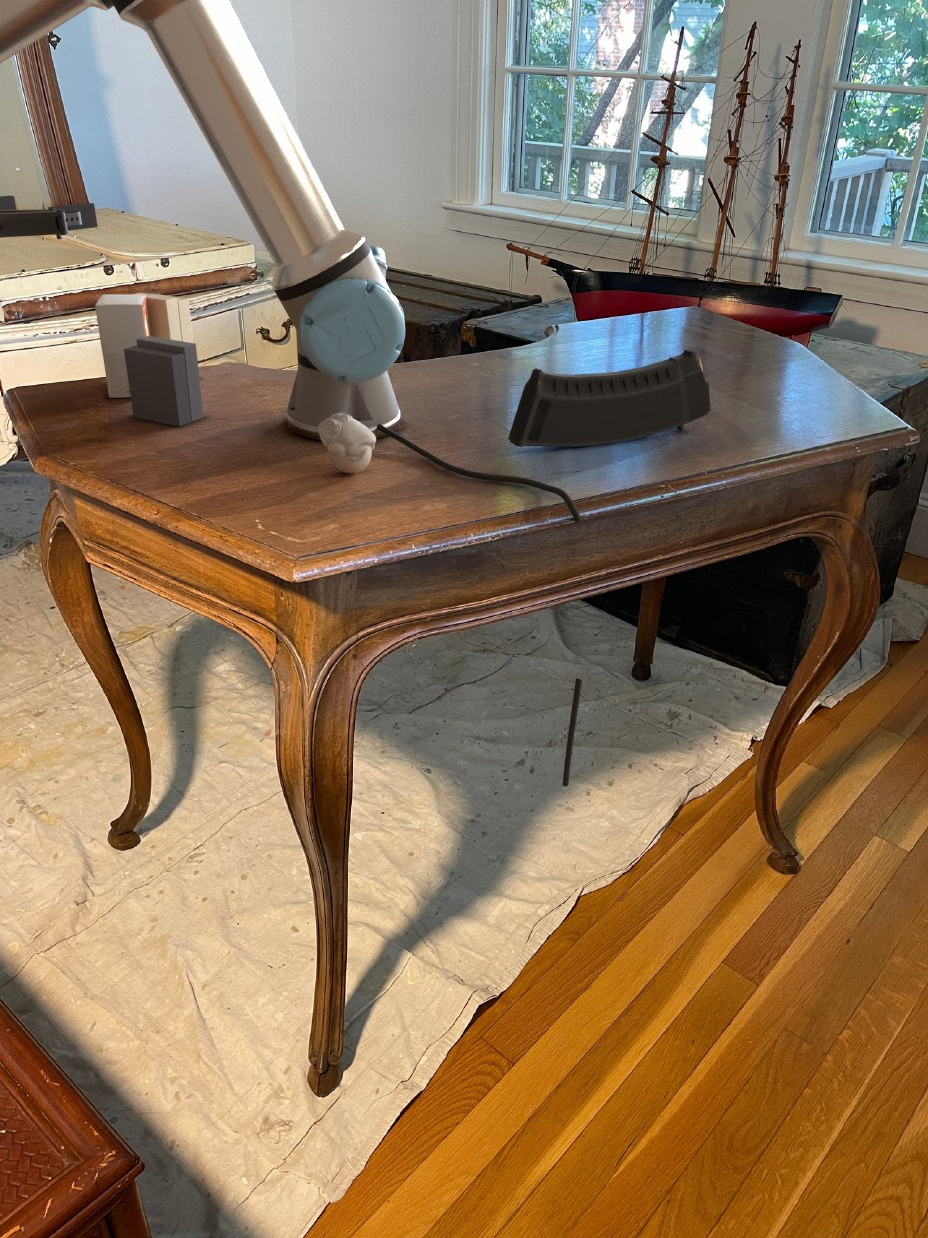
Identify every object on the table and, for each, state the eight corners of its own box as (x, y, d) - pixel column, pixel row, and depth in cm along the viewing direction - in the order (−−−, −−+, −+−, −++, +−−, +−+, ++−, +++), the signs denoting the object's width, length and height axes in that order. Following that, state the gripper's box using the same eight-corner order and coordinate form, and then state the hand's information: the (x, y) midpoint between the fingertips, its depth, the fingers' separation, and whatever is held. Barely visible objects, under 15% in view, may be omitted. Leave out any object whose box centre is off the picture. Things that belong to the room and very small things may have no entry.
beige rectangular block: (197, 378, 143) (188, 294, 137) (176, 385, 139) (165, 300, 133) (162, 372, 145) (151, 289, 139) (140, 379, 141) (128, 294, 135)
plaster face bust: (331, 459, 113) (329, 404, 110) (384, 467, 112) (384, 410, 108) (311, 476, 108) (308, 418, 105) (367, 484, 107) (366, 425, 103)
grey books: (203, 417, 126) (195, 343, 121) (179, 426, 122) (170, 350, 117) (158, 408, 129) (148, 335, 124) (133, 417, 125) (122, 342, 120)
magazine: (506, 388, 111) (704, 301, 118) (493, 381, 114) (688, 296, 121) (532, 508, 121) (713, 421, 129) (520, 499, 124) (698, 414, 131)
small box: (154, 397, 133) (142, 304, 127) (108, 398, 132) (93, 304, 126) (157, 382, 140) (146, 293, 134) (114, 383, 139) (100, 293, 132)
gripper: (-165, 253, 106) (-11, 234, 123) (-11, 274, 97) (133, 251, 114) (-186, 181, 102) (-24, 172, 119) (-27, 196, 93) (124, 184, 110)
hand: (53, 210), depth 116 cm, fingers open, 13 cm apart
